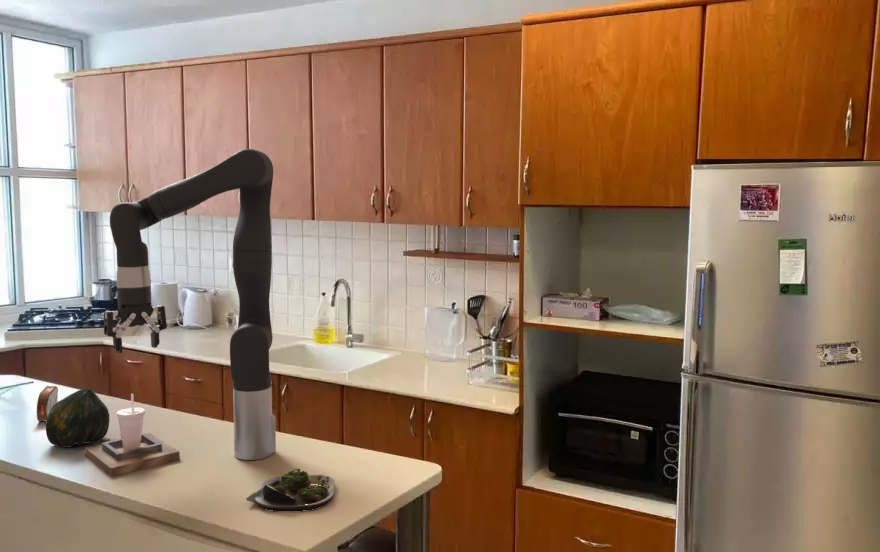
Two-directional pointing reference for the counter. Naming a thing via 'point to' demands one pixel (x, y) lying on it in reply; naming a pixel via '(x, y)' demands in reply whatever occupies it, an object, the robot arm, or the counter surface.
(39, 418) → the tin
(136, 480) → the counter surface
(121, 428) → the smoothie
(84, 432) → the squash
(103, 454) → the base board
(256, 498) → the salad plate
